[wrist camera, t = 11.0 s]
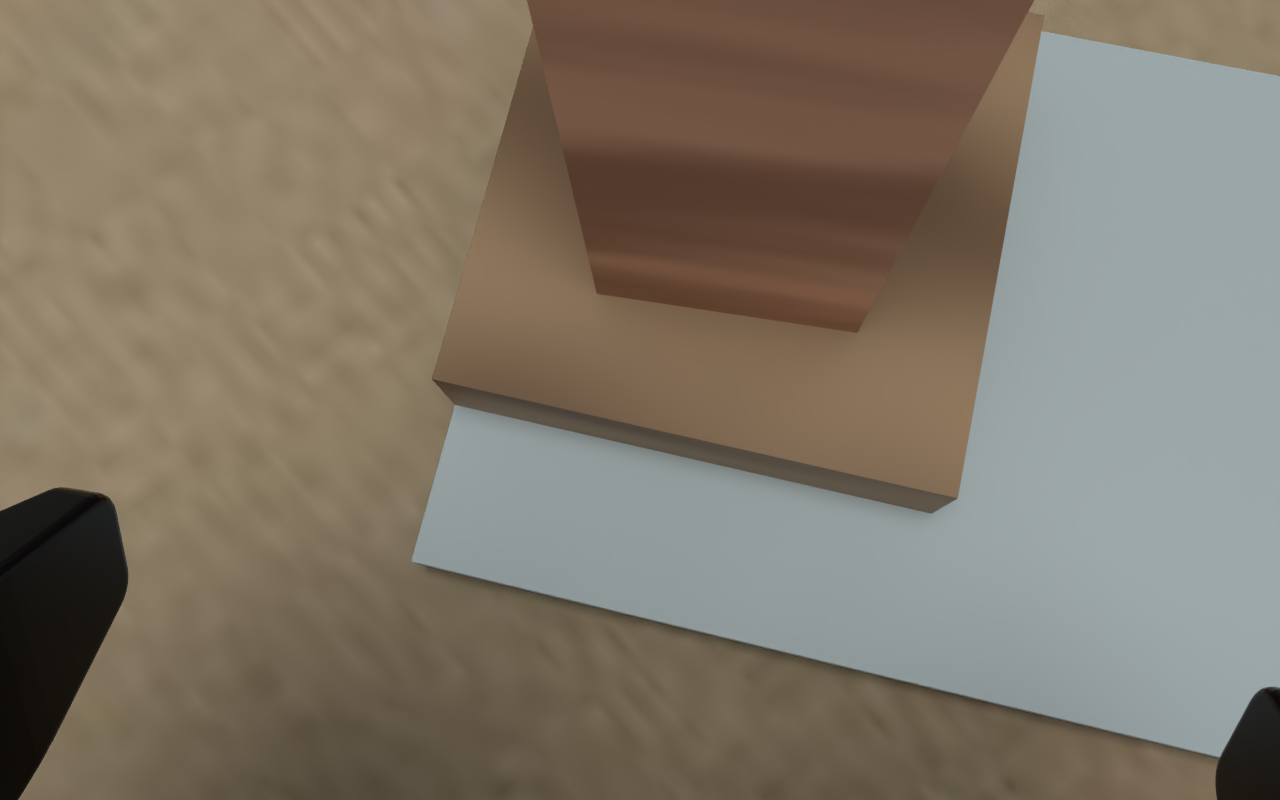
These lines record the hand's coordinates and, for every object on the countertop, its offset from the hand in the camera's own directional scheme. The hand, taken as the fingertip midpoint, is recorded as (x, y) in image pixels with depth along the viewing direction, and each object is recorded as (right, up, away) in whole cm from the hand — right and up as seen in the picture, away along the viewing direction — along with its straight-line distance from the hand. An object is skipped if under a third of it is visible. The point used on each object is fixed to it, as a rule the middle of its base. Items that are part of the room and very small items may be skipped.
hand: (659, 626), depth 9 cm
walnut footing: (+2, +5, +13) cm, 14 cm away
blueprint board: (+6, +3, +13) cm, 15 cm away
